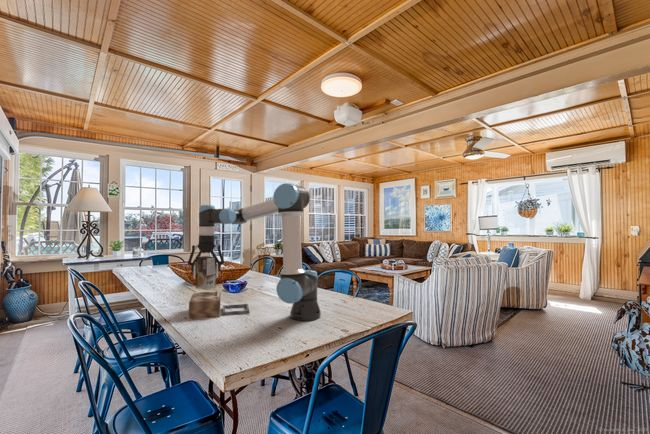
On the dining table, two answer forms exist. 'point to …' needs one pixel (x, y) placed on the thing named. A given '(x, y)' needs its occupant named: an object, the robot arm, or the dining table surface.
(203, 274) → the coffee box
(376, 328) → the dining table surface
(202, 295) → the walnut caddy
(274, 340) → the dining table surface
